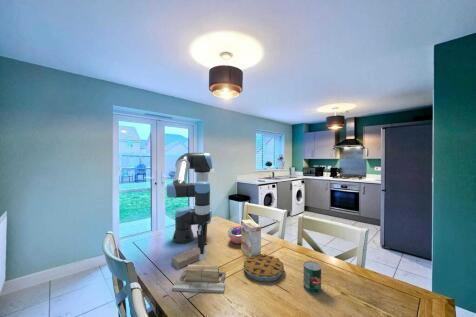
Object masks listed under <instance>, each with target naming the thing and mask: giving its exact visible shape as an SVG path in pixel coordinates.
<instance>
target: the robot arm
mask: <svg viewBox="0 0 476 317" xmlns="http://www.w3.org/2000/svg"><path fill="white" fill-rule="evenodd" d="M174 167H175V172H174V176H173V180H172V182H171V183H168V184H166V196H167V198H168V199H173V198H174V199H176V198H177V199H178V198H181V199H182V198H194V206H193V208H192V207H191V206H182V207H179V208H177V209H176V210H175V213H174V214H175V215H174V218H175V222H174V224H175V227H174V229H175V230H174V233H173V236H172V242H173V243H175V244H189V243H190V242H193V241H194V240H195V235H194V231H193V229H192V228H193V227H192V226H197V230H196V236H197V249H199V260H198V261H205V260H206V246H207V245H208V242H207V239H208V238H207V236H208V234H207V233H208V225H209V224H210V223H211V220H212V217H213V216H212V215H213V208H212V207H211V183H210V182H209V174H210V172H211V170H212V169H213V161H212V156H211V153H210V152H187V153H184V154H181V155H180V156H179V157H178V158H177V160H176V162H175V166H174ZM189 170H194V173H195V174H196V175H195V176H196V178H195V180H196V182H193V183H192V182H187V180H188V174H189V173H188V172H189Z"/></svg>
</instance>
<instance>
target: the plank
mask: <svg viewBox="0 0 476 317" xmlns="http://www.w3.org/2000/svg"><path fill="white" fill-rule="evenodd" d="M186 266H187V267H186V269H184V271H185V278H184V280H185V281H184V282H206V283H208V282H209V283H219V279H220V276H219V272H220V265H209V264H208V265H207V264H189V265H186Z"/></svg>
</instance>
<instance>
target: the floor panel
mask: <svg viewBox="0 0 476 317" xmlns="http://www.w3.org/2000/svg"><path fill="white" fill-rule="evenodd" d="M219 277H221V278H220V282H218V283H209V282H208V283H206V282H185V281H184V280H185V270H183V272H182V274H181V276H180V278H179V280H178V281H177V280H176V281H175V283H174V284H173V286H172V287H171V291H173V292H174V291H175V292H178V291H179V292H197V293H214V294H215V293H217V294H219V293H220V294H224V293H225V289H226V283H225V280H226V272H223V271H219Z"/></svg>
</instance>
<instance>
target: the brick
mask: <svg viewBox="0 0 476 317" xmlns="http://www.w3.org/2000/svg"><path fill="white" fill-rule="evenodd" d="M197 261H200V260H199V248H196V247H193V248H190V249H188V250H187V251H184V252H182V253H177V254H176V255H173V256H172V257H171V261H170V262H171V265H172V266H173V267H174V268H175V269H177V270H179V269H183V268H184V267H186V266H188V265H192V264H193V263H195V262H197Z"/></svg>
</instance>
